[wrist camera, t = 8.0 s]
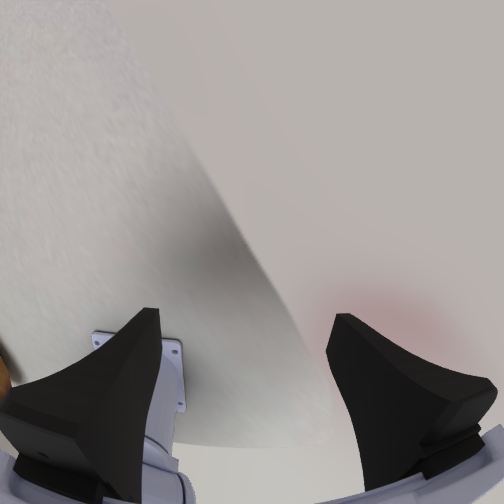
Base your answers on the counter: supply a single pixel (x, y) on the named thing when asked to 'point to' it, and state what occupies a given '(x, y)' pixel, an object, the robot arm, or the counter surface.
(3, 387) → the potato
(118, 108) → the counter surface
